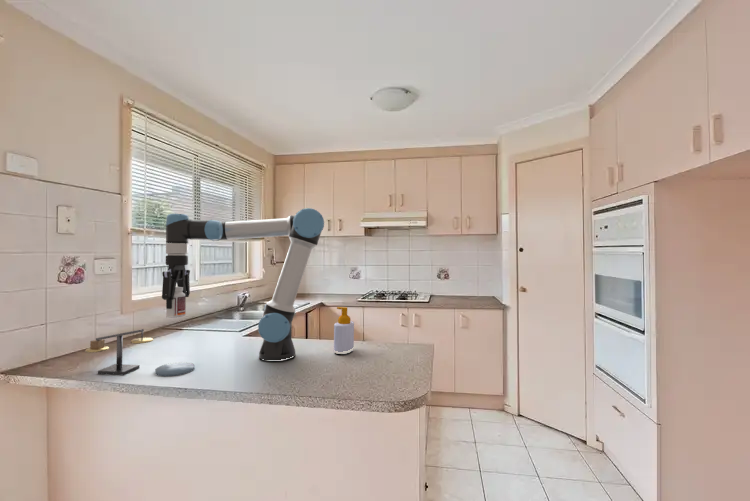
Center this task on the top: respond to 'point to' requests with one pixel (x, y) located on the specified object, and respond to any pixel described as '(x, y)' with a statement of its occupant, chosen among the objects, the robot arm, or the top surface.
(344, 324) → the soap bottle
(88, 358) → the top surface
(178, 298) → the pill bottle
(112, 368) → the balance
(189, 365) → the dish
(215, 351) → the top surface
